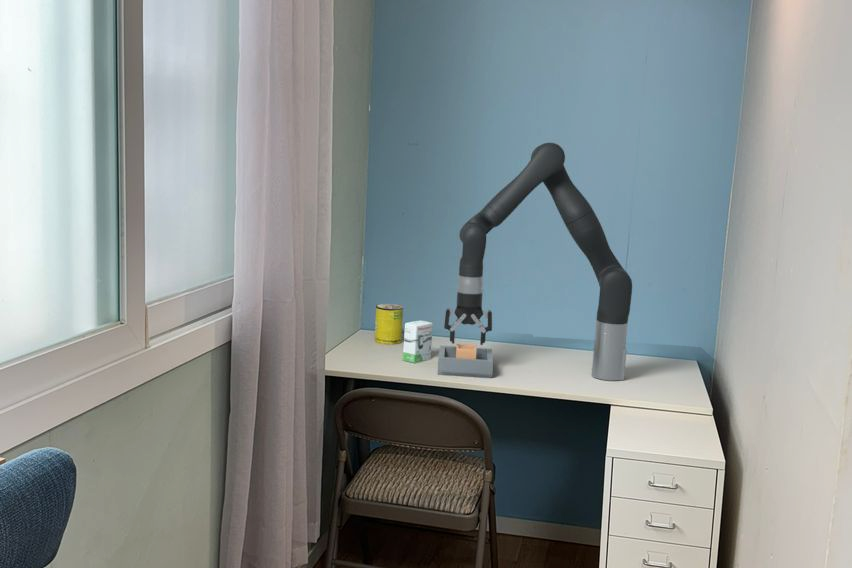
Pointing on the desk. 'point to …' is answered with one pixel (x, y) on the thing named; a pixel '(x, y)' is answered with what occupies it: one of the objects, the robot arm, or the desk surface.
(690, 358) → the desk surface
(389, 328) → the yellow tin can
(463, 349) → the box
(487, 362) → the big crate
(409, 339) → the ink box
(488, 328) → the robot arm
